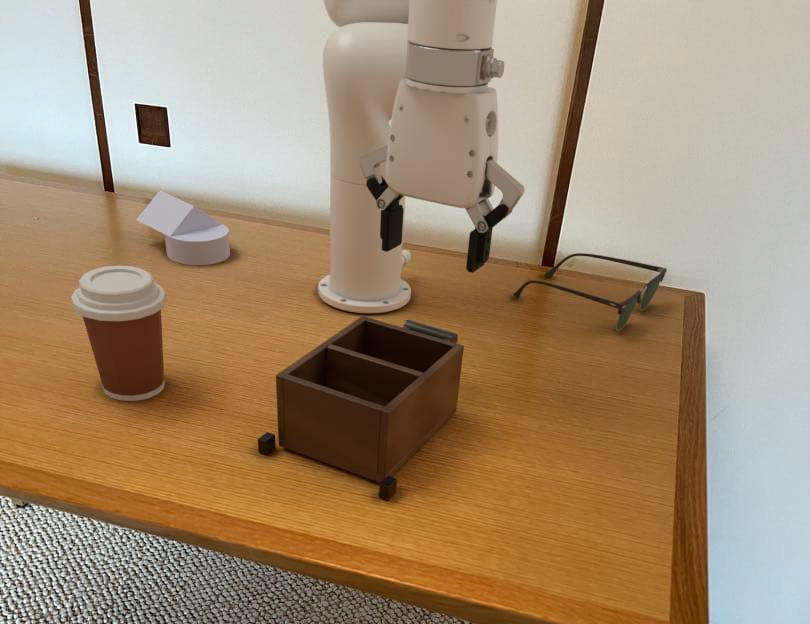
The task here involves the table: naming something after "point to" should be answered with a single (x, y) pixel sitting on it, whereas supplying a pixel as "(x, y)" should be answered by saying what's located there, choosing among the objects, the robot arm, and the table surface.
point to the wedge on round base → (187, 231)
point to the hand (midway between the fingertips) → (432, 257)
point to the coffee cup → (124, 329)
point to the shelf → (370, 395)
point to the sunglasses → (623, 308)
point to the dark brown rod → (386, 486)
